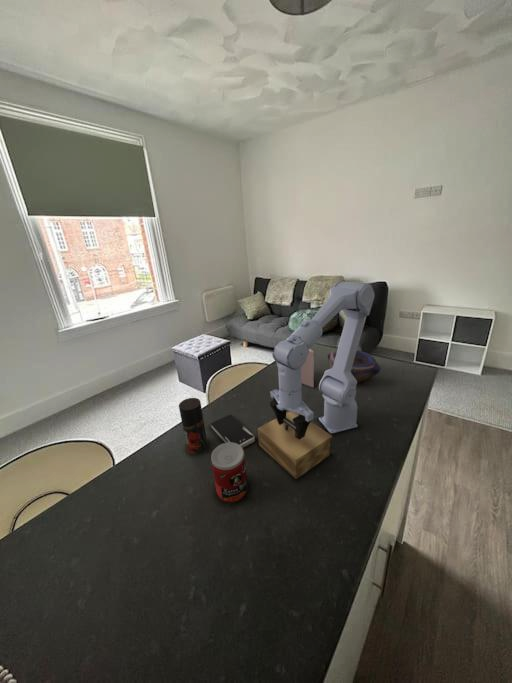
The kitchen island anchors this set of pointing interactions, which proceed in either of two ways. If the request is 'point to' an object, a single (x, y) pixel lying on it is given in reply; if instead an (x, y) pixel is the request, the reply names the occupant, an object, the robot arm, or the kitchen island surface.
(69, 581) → the kitchen island surface
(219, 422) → the smartphone
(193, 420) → the deodorant
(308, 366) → the greeting card
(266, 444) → the compartment
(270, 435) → the lid
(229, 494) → the canned food
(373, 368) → the bowl
